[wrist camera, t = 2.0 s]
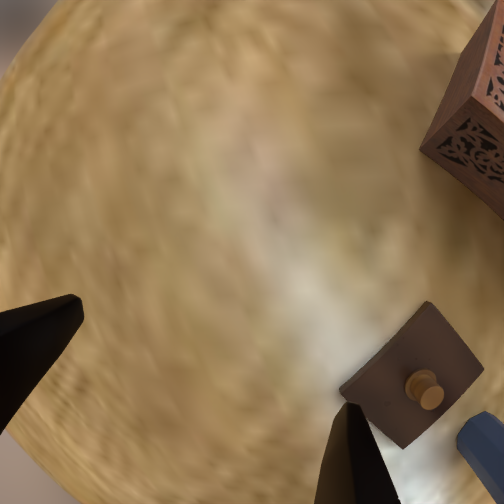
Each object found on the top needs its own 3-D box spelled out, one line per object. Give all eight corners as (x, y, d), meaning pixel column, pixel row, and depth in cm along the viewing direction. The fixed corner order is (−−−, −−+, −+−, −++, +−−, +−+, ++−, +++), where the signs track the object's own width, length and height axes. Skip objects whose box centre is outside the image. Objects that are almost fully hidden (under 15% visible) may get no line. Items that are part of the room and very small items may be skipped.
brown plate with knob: (399, 443, 22) (411, 468, 18) (338, 388, 23) (344, 411, 19) (478, 365, 21) (501, 380, 17) (426, 300, 22) (447, 308, 18)
